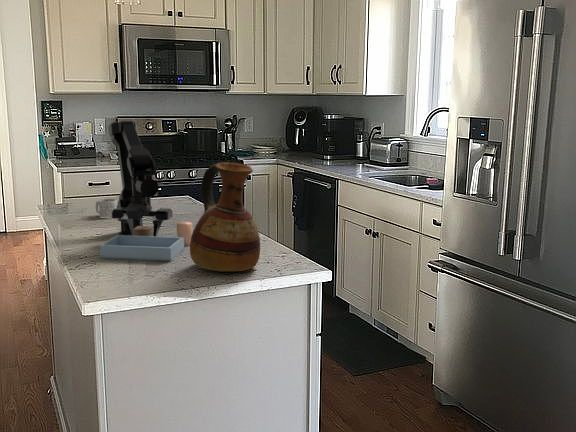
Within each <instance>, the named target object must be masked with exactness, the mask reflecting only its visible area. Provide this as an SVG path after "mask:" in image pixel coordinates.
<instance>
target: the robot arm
mask: <svg viewBox="0 0 576 432" xmlns="http://www.w3.org/2000/svg"><path fill="white" fill-rule="evenodd" d="M107 131H108V135H109V136H110V139H111V143H112V144H113V145H114V146H115V147H116V149H117V155H118V157H117V158H118V162H119V170H120V171H119V173H120V177H121V185H122V189H121V191H120V194H119V196H118V201H117V208H116V209H114V210H113V211H112V218H111V219H117V221H118V222H120V231H119V233H118V235H123V234H124V235H132V236H133V229H134V228H136V227H137V226H144V225H143V223H144V222H143V221H144V220H143V217H153V218H154V220H152V224H153V236H158V235H159V232H160V228H161V226H162V224H163V222H164V221H168V220H170V219H172V218H173V215H174V214H173V210H172V209H171V208H163V207H160V208H159V209H157V210H153V205H152V197H154V196H156V195H157V194H158V192H159V188H160V187H159V183H158V182H157V181H156V180H155V179H154V178H153V176H157V171H158V169H157V167H156V163H155V160H154V157H153V156H152V155H151V153H150V152H149V150H148V149H147V148H145V147H143V145H142V142H141V140H140V137H139V135H138V131H137V128H136V122H135V121H133V120H121V121H112V122H111V123H110V124H109V125H108V129H107Z"/></svg>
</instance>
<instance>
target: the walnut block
mask: <svg viewBox="0 0 576 432" xmlns="http://www.w3.org/2000/svg"><path fill="white" fill-rule="evenodd" d="M153 227H154V225H153V226H150V225H143V226H137V227H136V228H134V229H133V236H153Z"/></svg>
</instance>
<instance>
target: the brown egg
mask: <svg viewBox="0 0 576 432" xmlns="http://www.w3.org/2000/svg"><path fill="white" fill-rule="evenodd" d="M193 230H194V229H193V222H192V221H186V220H185V221H178V222H176V237H184V247H190V241H191V236H192V233H193Z"/></svg>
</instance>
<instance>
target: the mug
mask: <svg viewBox="0 0 576 432" xmlns="http://www.w3.org/2000/svg"><path fill="white" fill-rule="evenodd" d="M117 205H118V201H117V198H103V199H99V200H97V201H95V211H96V213H97V214H99V218H100V217H112V211H113V210H114V209H116V208H117Z"/></svg>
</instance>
